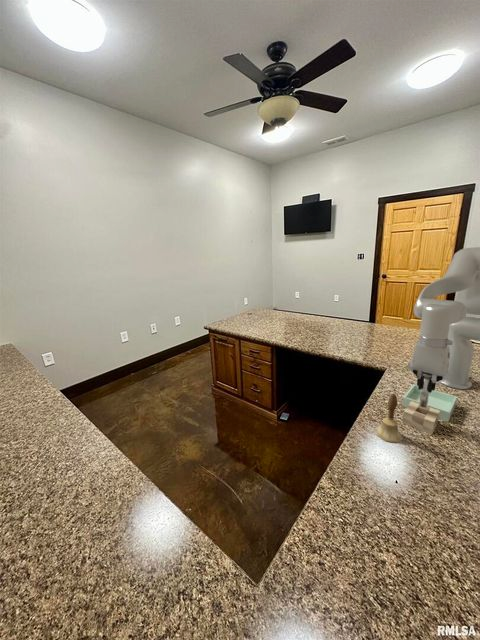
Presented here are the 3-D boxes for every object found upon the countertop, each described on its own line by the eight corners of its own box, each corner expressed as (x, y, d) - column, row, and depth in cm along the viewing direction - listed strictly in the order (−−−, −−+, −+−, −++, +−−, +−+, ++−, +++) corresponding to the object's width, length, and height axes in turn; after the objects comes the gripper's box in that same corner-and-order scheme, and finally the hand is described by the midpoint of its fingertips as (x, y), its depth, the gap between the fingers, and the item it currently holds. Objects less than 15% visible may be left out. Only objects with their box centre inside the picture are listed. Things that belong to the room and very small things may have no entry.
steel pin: (418, 401, 95) (422, 369, 92) (430, 405, 92) (435, 372, 89) (415, 405, 93) (419, 372, 89) (428, 410, 90) (433, 376, 86)
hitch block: (409, 412, 100) (411, 400, 99) (438, 422, 94) (440, 410, 92) (402, 423, 95) (403, 411, 93) (431, 434, 88) (433, 422, 87)
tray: (412, 392, 113) (413, 384, 112) (455, 405, 103) (457, 396, 101) (401, 405, 104) (402, 397, 103) (448, 422, 94) (449, 412, 93)
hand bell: (404, 433, 90) (410, 392, 85) (399, 446, 84) (404, 404, 80) (379, 423, 95) (382, 385, 91) (371, 435, 89) (375, 395, 85)
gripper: (465, 343, 82) (456, 393, 87) (408, 333, 94) (403, 378, 99) (461, 350, 78) (452, 403, 83) (401, 339, 89) (396, 386, 94)
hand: (425, 389), depth 91 cm, fingers closed on steel pin, 2 cm apart
